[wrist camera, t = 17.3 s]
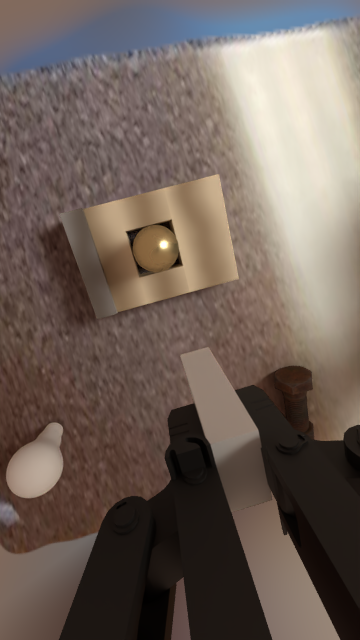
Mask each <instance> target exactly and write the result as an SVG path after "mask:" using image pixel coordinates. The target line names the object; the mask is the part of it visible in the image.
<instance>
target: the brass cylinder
mask: <svg viewBox="0 0 360 640" xmlns="http://www.w3.org/2000/svg"><path fill="white" fill-rule="evenodd" d="M178 253H179V245H178V241H177V239H176V237H175V235H174V234H173V233H172V232H171V231H170V230H169V229H168V228H166V227H164V226H160V225H150V226H147V227H145V228H143V229H142V230H141V231H140V232H139V233H138V234H137V235H136V237H135V239H134V243H133V254H134V257H135V259H136V261H137V262H138V264H139V265H140V266H141V267H142V268H144V269H145V270H148V271H151V272H162V271H165V270H167V269H169V268H170V267H171V266H172V265H173V264H174V263H175V261H176V259H177V257H178Z"/></svg>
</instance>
